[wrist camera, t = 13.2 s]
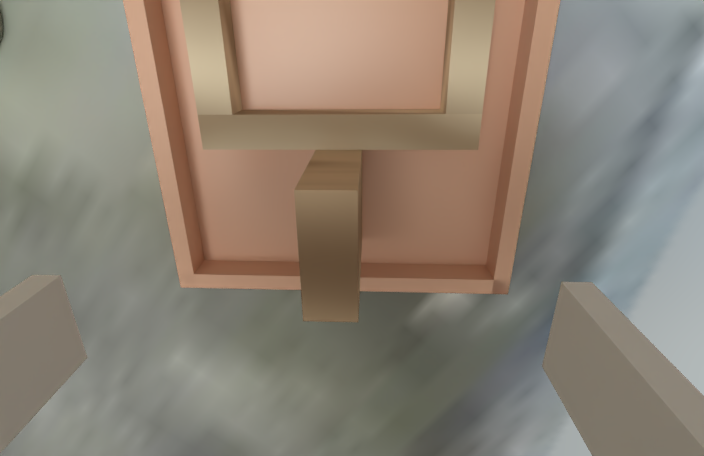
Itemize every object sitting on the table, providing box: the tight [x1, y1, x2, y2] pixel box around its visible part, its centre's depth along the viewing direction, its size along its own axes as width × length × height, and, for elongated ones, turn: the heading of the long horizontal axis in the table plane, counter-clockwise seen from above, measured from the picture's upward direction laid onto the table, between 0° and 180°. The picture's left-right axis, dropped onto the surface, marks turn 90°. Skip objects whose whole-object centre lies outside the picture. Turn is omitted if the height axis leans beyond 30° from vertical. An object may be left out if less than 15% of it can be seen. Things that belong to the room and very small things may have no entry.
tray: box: [123, 0, 560, 294], centre depth 17 cm, size 22×17×2 cm
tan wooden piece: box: [180, 0, 496, 322], centre depth 15 cm, size 17×12×7 cm
